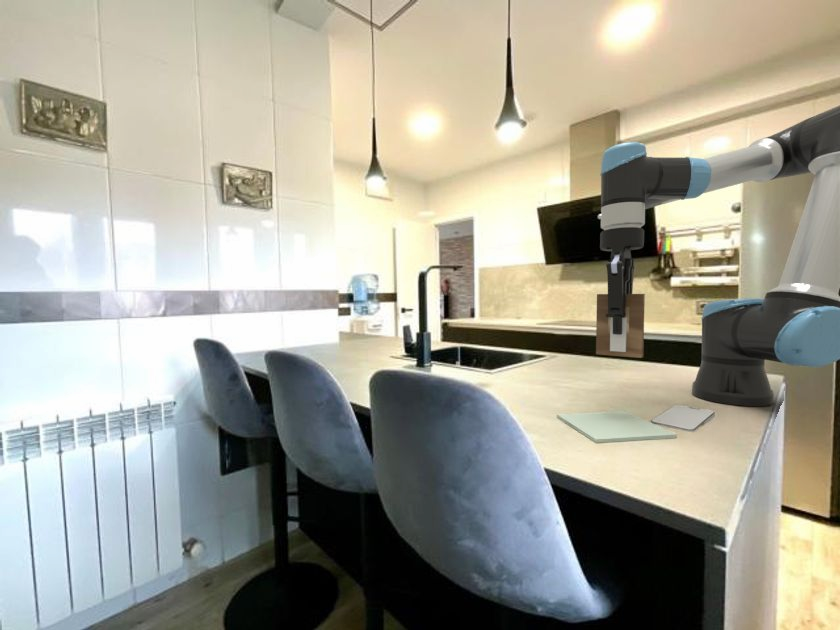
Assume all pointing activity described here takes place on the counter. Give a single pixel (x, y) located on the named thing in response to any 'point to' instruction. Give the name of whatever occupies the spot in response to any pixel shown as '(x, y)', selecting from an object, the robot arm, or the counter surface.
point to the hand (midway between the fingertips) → (619, 350)
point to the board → (633, 326)
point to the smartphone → (683, 418)
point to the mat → (614, 426)
